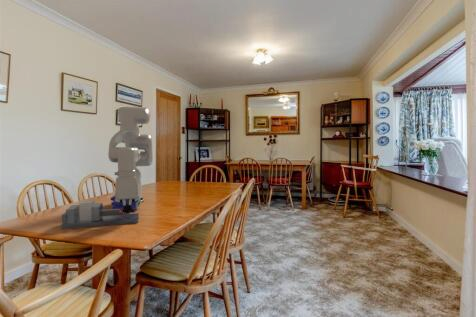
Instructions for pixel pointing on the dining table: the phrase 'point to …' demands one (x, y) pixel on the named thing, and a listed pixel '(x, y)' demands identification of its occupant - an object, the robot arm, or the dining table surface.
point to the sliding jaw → (103, 212)
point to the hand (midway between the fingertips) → (127, 213)
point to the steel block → (85, 210)
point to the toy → (120, 206)
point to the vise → (73, 221)
